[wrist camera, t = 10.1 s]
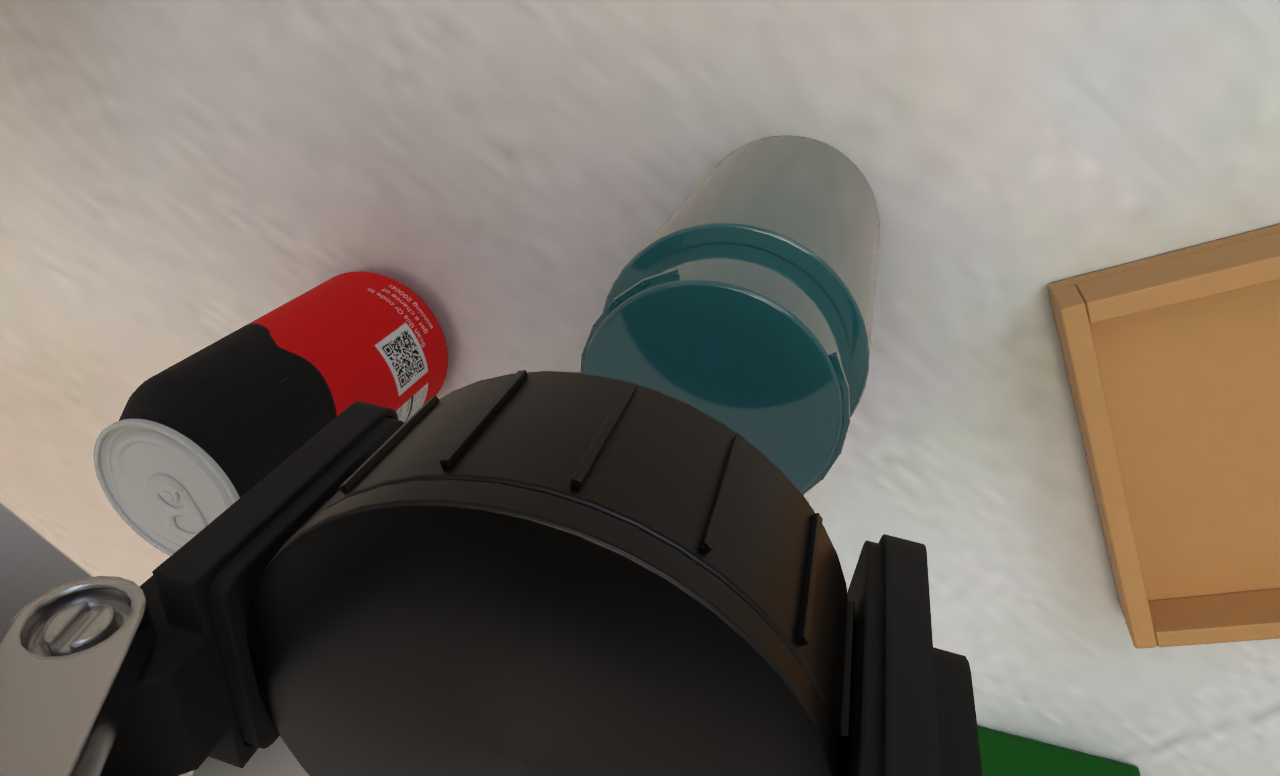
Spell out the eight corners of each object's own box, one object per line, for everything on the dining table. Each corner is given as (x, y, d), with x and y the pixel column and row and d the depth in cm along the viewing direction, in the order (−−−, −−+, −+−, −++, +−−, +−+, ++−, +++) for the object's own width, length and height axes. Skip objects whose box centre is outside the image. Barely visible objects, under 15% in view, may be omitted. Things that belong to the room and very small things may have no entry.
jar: (729, 334, 28) (630, 550, 18) (666, 174, 26) (513, 312, 16) (901, 287, 26) (904, 506, 15) (847, 104, 24) (806, 214, 13)
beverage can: (423, 248, 30) (186, 389, 20) (481, 389, 33) (295, 577, 23) (303, 278, 33) (37, 417, 23) (366, 407, 35) (151, 584, 25)
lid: (288, 435, 11) (132, 559, 9) (742, 299, 8) (689, 428, 6) (506, 764, 13) (428, 930, 11) (914, 747, 11) (923, 962, 8)
